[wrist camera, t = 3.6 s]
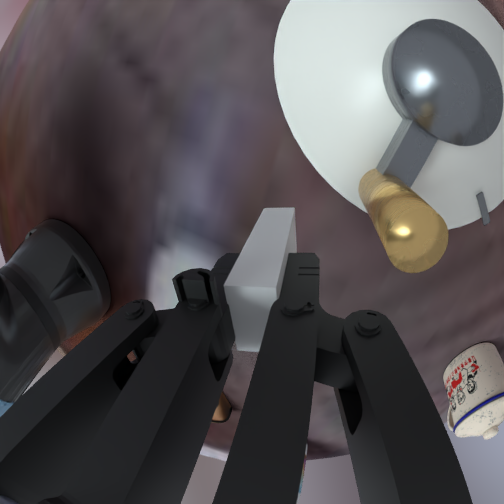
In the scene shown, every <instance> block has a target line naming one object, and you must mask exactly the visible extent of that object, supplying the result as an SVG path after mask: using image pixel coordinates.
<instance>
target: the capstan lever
mask: <svg viewBox="0 0 504 504" xmlns="http://www.w3.org/2000/svg"><path fill="white" fill-rule="evenodd" d="M382 76H383V82H384V86H385V89H386V92H387V95H388V97H389V99H390V101H391V103H392V105H393V107H394V108H395V110H396V111H397V112H398V114H399V115H400V116H401V117H402V121H401V123H400V125H399V127H398V129H397V131H396V132H395V134H394V136H393V138H392V140H391V142H390V144H389V145H388V147H387V149H386V151H385V153H384V154H383V156H382V158H381V160H380V161H379V163H378V165H377V167H376V168H375V169H372V170H370V171H368V172H367V173H365V174H364V175H363V177H362V178H361V180H360V183H359V187H358V192H359V196H360V199H361V201H362V203H363V205H364V207H365V209H366V210H367V212H368V214H369V216H370V218H371V220H372V222H373V224H374V226H375V229H376V231H377V233H378V235H379V237H380V239H381V241H382V243H383V246H384V248H385V250H386V252H387V254H388V257H389V259H390V261H391V262H392V264H393V265H394V266H395V267H396V268H398V269H399V270H401V271H404V272H408V273H418V272H422V271H425V270H427V269H429V268H431V267H432V266H434V265H435V264H436V263H437V262H438V261H439V260H440V259H441V257H442V256H443V254H444V252H445V250H446V248H447V244H448V228H447V225H446V223H445V221H444V219H443V218H442V217H441V216H440V215H439V214H438V213H437V212H436V211H435V210H434V209H433V208H432V207H431V206H430V205H429V204H428V203H427V202H426V201H424V200H423V199H422V198H421V197H420V196H419V195H418V194H417V193H415V192H414V191H413V190H412V189H411V186H412V184H413V183H414V181H415V179H416V178H417V176H418V174H419V173H420V171H421V169H422V167H423V166H424V164H425V162H426V160H427V158H428V157H429V155H430V153H431V151H432V149H433V147H434V146H435V144H436V142H437V140H441V141H444V142H447V143H450V144H454V145H458V146H473V145H477V144H479V143H482V142H484V141H485V140H486V139H488V138H489V137H490V136H491V135H492V134H493V133H494V131H495V130H496V128H497V126H498V124H499V122H500V119H501V116H502V112H503V89H502V84H501V80H500V77H499V74H498V71H497V69H496V66H495V64H494V62H493V60H492V59H491V57H490V55H489V54H488V52H487V51H486V50H485V48H484V47H483V46H482V45H481V44H480V42H479V41H478V40H477V39H476V38H474V37H473V36H472V35H471V34H470V33H468V32H467V31H466V30H464V29H463V28H461V27H459V26H457V25H455V24H453V23H451V22H448V21H445V20H440V19H424V20H420V21H418V22H415V23H413V24H412V25H410V26H409V27H408V28H407V29H405V30H404V31H403V32H402V33H400V34H399V35H398V36H397V37H396V38H394V39H393V41H392V42H391V43H390V44H389V46H388V47H387V49H386V51H385V54H384V58H383V63H382Z"/></svg>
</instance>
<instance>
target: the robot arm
mask: <svg viewBox="0 0 504 504" xmlns="http://www.w3.org/2000/svg"><path fill="white" fill-rule="evenodd" d="M172 281H173V284H174V287H175V291H176V294H177V297H178V300H179V302H178V304H177V305H176V307H175V308H173V309H167V310H159V311H155V309H154V306H153V304H152V303H151V302H150V301H148V300H143V299H141V300H134V301H132V302H129V303H127V304H126V305H124V306H122V307H121V308H120V309H119V310H118V311H116V312H115V313H114V314H113V315H112V316H110V317H109V318H108V319H107V320H106V321H105V322H103V323H102V324H101V325H100V326H99V327H98V328H96V329H95V330H94V331H93V332H92V333H91V334H89V335H88V336H87V337H86V338H85V339H84V340H83V341H81V342H80V343H79V344H78V345H77V346H76V347H75V348H73V349H72V350H71V351H70V352H69V353H68V354H67V355H66V356H64V357H63V358H62V359H61V360H60V361H59V362H58V363H57V364H56V365H54V366H53V367H52V368H51V369H50V370H49V371H48V372H47V373H46V374H45V375H43V376H42V377H41V378H40V379H39V380H38V381H37V382H36V383H35V384H34V385H33V386H32V387H31V388H30V389H29V390H28V391H26V392H25V390H26V389H27V387H28V386H29V385H30V383H31V382H32V381H33V379H34V378H35V376H36V375H37V374H38V372H39V371H40V370H41V368H42V367H43V366H44V365H45V363H46V362H47V361H48V359H49V358H50V357H51V355H52V354H53V353H54V352H55V350H56V349H57V348H58V347H59V346H60V345H61V343H62V342H63V341H65V340H67V339H69V338H70V337H72V336H74V335H76V334H78V333H80V332H82V331H83V330H85V329H87V328H89V327H91V326H93V325H95V324H96V323H97V322H98V321H99V320H100V319H101V318H102V317H103V316H104V314H105V313H106V312H107V311H108V309H109V306H110V302H111V294H110V287H109V283H108V280H107V277H106V274H105V272H104V270H103V268H102V265H101V264H100V262H99V260H98V258H97V256H96V255H95V253H94V252H93V250H92V249H91V247H90V246H89V245H88V244H87V242H86V241H85V240H84V239H83V238H82V237H81V236H80V235H79V234H78V233H77V232H76V231H75V230H74V229H73V228H72V227H70V226H69V225H67V224H66V223H64V222H62V221H59V220H55V219H48V220H45V221H43V222H42V223H40V224H38V225H37V226H35V227H34V228H33V229H31V230H30V232H29V233H28V234H27V236H26V238H25V240H24V241H23V242H22V243H21V244H20V246H19V247H18V248H17V249H16V251H15V252H14V254H13V255H12V257H11V258H10V260H9V261H8V262H7V264H5V265H4V266H3V267H2V268H1V269H0V504H181V501H182V498H183V496H184V493H185V491H186V488H187V485H188V483H189V480H190V478H191V475H192V472H193V470H194V467H195V464H196V462H197V459H198V456H199V454H200V451H201V448H202V446H203V443H204V440H205V437H206V435H207V432H208V429H209V427H210V424H211V421H212V418H213V416H214V413H215V410H216V407H217V404H218V402H219V399H220V396H221V393H222V390H223V388H224V385H225V382H226V379H227V376H228V374H229V371H230V368H231V365H232V362H233V355H232V351H231V348H232V346H233V343H234V340H235V343H236V347H237V350H241V351H252V352H259V354H258V357H257V361H256V364H255V368H254V371H253V375H252V379H251V382H250V385H249V389H248V392H247V396H246V399H245V403H244V406H243V409H242V413H241V416H240V419H239V423H238V426H237V429H236V433H235V436H234V439H233V442H232V445H231V449H230V452H229V455H228V458H227V461H226V464H225V467H224V471H223V474H222V477H221V480H220V483H219V486H218V489H217V492H216V494H215V497H214V501H213V503H212V504H296V503H297V498H298V492H299V487H300V482H301V476H302V470H303V464H304V458H305V451H306V444H307V437H308V430H309V422H310V413H311V405H312V395H313V385H314V381H316V382H319V383H322V384H325V385H329V386H332V387H334V391H335V395H336V399H337V402H338V406H339V410H340V414H341V418H342V422H343V426H344V430H345V434H346V438H347V443H348V447H349V451H350V455H351V460H352V464H353V469H354V473H355V478H356V483H357V487H358V492H359V497H360V502H361V504H473V503H472V500H471V497H470V494H469V490H468V487H467V484H466V481H465V478H464V475H463V472H462V470H461V467H460V464H459V461H458V459H457V456H456V454H455V451H454V448H453V446H452V443H451V441H450V438H449V436H448V434H447V431H446V429H445V427H444V424H443V422H442V420H441V417H440V415H439V413H438V411H437V409H436V406H435V404H434V402H433V400H432V398H431V396H430V394H429V392H428V390H427V388H426V386H425V384H424V382H423V380H422V378H421V376H420V374H419V372H418V370H417V368H416V366H415V364H414V362H413V360H412V358H411V357H410V355H409V353H408V351H407V349H406V347H405V346H404V344H403V342H402V340H401V338H400V337H399V335H398V333H397V331H396V330H395V328H394V326H393V324H392V323H391V321H390V320H389V319H388V318H387V317H386V316H385V315H383V314H381V313H379V312H376V311H372V310H360V311H357V312H354V313H352V314H350V315H349V316H348V317H346V319H342V318H338V317H335V316H332V315H330V314H328V313H327V312H325V311H324V310H323V309H322V308H321V306H320V304H319V258H318V257H317V256H316V255H315V253H297V245H296V223H295V207H291V208H264V209H263V211H262V213H261V215H260V217H259V219H258V221H257V222H256V224H255V226H254V228H253V230H252V232H251V234H250V236H249V238H248V240H247V241H246V243H245V245H244V247H243V249H242V251H241V253H227V254H225V255H224V256H223V257H221V258H220V259H218V261H217V262H216V264H215V265H214V268H213V269H212V270H211V271H210V270H208V269H202V268H197V269H190V270H186V271H183V272H181V273H180V274H178V275H176V276H175V277H174V278H173V279H172ZM131 351H133V353H134V355H135V356H136V359H135V360H134V361H129V359H128V357H127V355H128V354H129V353H130V352H131ZM24 392H25V393H24ZM23 393H24V394H23Z"/></svg>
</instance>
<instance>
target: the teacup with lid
mask: <svg viewBox="0 0 504 504" xmlns="http://www.w3.org/2000/svg"><path fill="white" fill-rule="evenodd" d="M443 380H444V384H445V388H446V392H447V395H448V400H449V404H450V407H449V410H448V417H447V421H448V427H449V429H450V430H451V431H453V432H454V433H455V435H457V436H458V437H469V436H481V435H483V437H484V439H485V440H487V439H490V438H492V437H494V436H495V435H496V434H497V433H498V426H499V425H500V424H501V423H502V422H503V420H504V364H503V362H502V359H501V357H500V355H499V353H498V351H497V349H496V347H495V345H493V344H492V343H480V344H477V345H474V346H472V347H470V348H468V349H466V350H465V351H463V352H462V353H460V354H459V355H458V356H457V357H456V358H455V359H453V361H452V362H451V363H450V364H449V365H448V367H447V368H446V370H445V372H444V376H443Z"/></svg>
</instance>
